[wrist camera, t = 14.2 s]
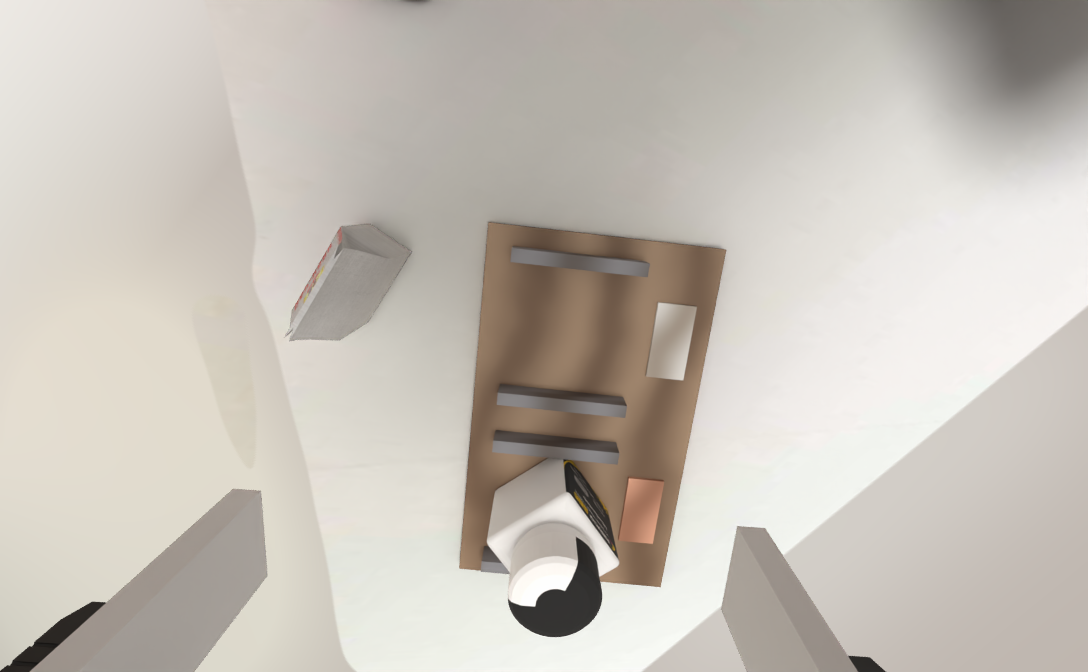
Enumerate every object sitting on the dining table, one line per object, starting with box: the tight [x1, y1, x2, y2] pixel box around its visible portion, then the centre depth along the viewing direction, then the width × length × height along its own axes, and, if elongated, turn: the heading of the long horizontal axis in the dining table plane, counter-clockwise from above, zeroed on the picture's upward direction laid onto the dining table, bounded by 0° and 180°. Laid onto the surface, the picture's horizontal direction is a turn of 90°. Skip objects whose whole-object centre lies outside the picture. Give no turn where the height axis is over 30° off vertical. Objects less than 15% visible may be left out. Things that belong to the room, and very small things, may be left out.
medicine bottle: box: [487, 458, 619, 637], centre depth 38 cm, size 7×7×12 cm
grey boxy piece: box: [285, 224, 412, 341], centre depth 35 cm, size 4×7×10 cm, turn 146°
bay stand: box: [459, 222, 726, 587], centre depth 42 cm, size 18×30×3 cm, turn 174°
